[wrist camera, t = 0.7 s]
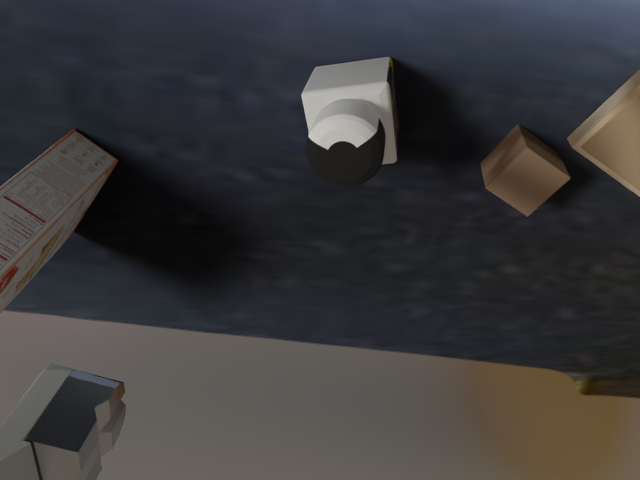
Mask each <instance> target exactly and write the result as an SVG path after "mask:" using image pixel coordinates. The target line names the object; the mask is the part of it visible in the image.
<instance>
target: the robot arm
mask: <svg viewBox="0 0 640 480" xmlns="http://www.w3.org/2000/svg"><path fill="white" fill-rule="evenodd" d="M124 393H125V387H124V382H120V381H116V380H112V379H109V378H105V377H101V376H97V375H93V374H89V373H85V372H81V371H78V370H75V369H71V368H68V367H63V366H59V365H55V364H50V365H49V366H47V367H46V368H45V369H44V370H42V372H41V373H40V374H39V376H38V377H37V378H36V380H35V381H34V383H33V384H32V385H31V387H30V388H29V389H28V391H27V392H26V393H25V394H24V396H23V397H22V398H21V400H20V402H19V403H18V404H17V405H16V407H15V408H14V409H13V411H12V412H11V413H10V415H9V416H8V417H7V419H6V420H5V421H4V423H3V424H2V425H1V427H0V480H96V479H97V477H98V475H99V474H100V472H101V469H102V467H101V456H102V455H104V454H105V453H107V452H108V451H110V450H111V449H113V447H114V445H115V443H116V440H117V438H118V437H119V434H120V431H121V428H122V426H123V423H124V419H125V413H126V405H125V404H124V403H123V401H122V400H121V399H122V397H123V395H124Z"/></svg>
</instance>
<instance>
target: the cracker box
mask: <svg viewBox="0 0 640 480" xmlns="http://www.w3.org/2000/svg"><path fill="white" fill-rule="evenodd" d="M117 162H118V159H116V158H115V157H113V156H112V155H111V154H109V153H108V152H106V151H105V150H103V149H102V148H101V147H99V146H98V145H96V144H95V143H93V142H92V141H91V140H89V139H88V138H86V137H85V136H83V135H82V134H81V133H79V132H78V131H76V130H75V129H73V130H72V131H70V132H69V133H68V134H67V135H65V136H64V137H63V138H62V139H60V140H59V141H58V142H56V143H55V144H54V145H53V146H51V147H50V148H49V149H48V150H46V151H45V152H44V153H43V154H41V155H40V156H39V157H38V158H36V159H35V160H34V161H33V162H31V163H30V164H29V165H27V166H26V167H25V168H24V169H22V170H21V171H20V172H18V173H17V174H16V175H15V176H13V177H12V178H11V179H10V180H8V181H7V182H6V183H4V184H3V185H2V186H1V187H0V313H1V312H2V311H3V310H4V309H5V308H6V306H7V305H8V304H9V303H10V302H11V301H12V300H13V299H14V298H15V297H16V296H17V294H18V293H19V292H20V291H21V290H22V289H23V288H24V287H25V286H26V284H27V283H28V282H29V281H30V280H31V279H32V278H33V277H34V276H35V275H36V273H37V272H38V271H39V270H40V269H41V268H42V267H43V266H44V265H45V263H46V262H47V261H48V260H49V259H50V258H51V257H52V256H53V255H54V254H55V253H56V251H57V250H58V249H59V248H60V247H61V246H62V245H63V244H64V243H65V242H66V240H67V239H68V238H69V237H70V236H71V235H72V234H73V232H74V230H75V229H76V227H77V225H78V224H79V222H80V221H81V219H82V218H83V216H84V215H85V213H86V211H87V210H88V208H89V207H90V205H91V203H92V202H93V200H94V199H95V197H96V196H97V194H98V192H99V191H100V189H101V188H102V186H103V185H104V183H105V181H106V180H107V178H108V177H109V175H110V174H111V172H112V170H113V169H114V167H115V166H116V164H117Z"/></svg>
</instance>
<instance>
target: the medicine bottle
mask: <svg viewBox="0 0 640 480" xmlns="http://www.w3.org/2000/svg"><path fill="white" fill-rule="evenodd" d="M302 101H303V106H304V111H305V116H306V121H307V126H308V130H309V135H308V138H307V141H306V156H307V160H308V162H309V164H310V166H311V168H312V169H313V171H314V172H315V173H316V174H317V175H318V176H319V177H320V178H322V179H323V180H325V181H327V182H329V183H331V184H334V185H338V186H355V185H359V184H362V183H364V182H366V181H368V180H369V179H371V178H372V177H373V176H374V175H375V174H376V173H377V172H378V170H379V169H380V167H381V165H382V164H391V163H395V162H396V161H397V149H398V133H399V125H398V115H397V105H396V94H395V84H394V74H393V64H392V59H391V58H390V57H383V58H376V59H369V60H362V61H354V62H347V63H340V64H333V65H326V66H319V67H315V69H314V70H313V72H312V74H311V76H310V78H309V80H308V82H307V84H306V86H305V88H304V90H303V92H302Z"/></svg>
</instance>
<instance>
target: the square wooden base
mask: <svg viewBox="0 0 640 480" xmlns="http://www.w3.org/2000/svg"><path fill="white" fill-rule="evenodd" d="M567 139H568V141H569V143H570V145H571V147H572V148H573V149H575V150H576V151H577V152H579V153H580V154H582V155H583V156H584V157H586V158H587V159H588V160H590V161H591V162H593V163H594V164H595V165H597V166H598V167H599V168H601V169H602V170H604V171H605V172H606V173H608V174H609V175H610V176H612V177H613V178H615V179H616V180H617V181H619V182H620V183H621V184H623V185H624V186H626V187H627V188H628V189H630V190H631V191H633V192H634V193H635V194H637V195H638V196H639V197H640V69H639V70H638V71H637V72H636V73H635V74H634V75H633V76H632V77H631V78H630V79H629V80H627V81H626V82H625V83H624V84H623V85H622V86H621V87H620V88H619V89H618V90H617V91H616V92H615V93H614V94H613V95H612V96H611V97H610V98H609V99H608V100H606V101H605V102H604V103H603V104H602V105H601V106H600V107H599V108H598V109H597V110H596V111H595V112H594V113H593V114H592V115H591V116H590V117H589V118H588V119H586V120H585V121H584V122H583V123H582V124H581V125H580V126H579V127H578V128H577V129H576V130H575V131H574V132H573V133H572V134H571V135H570V136H569V137H568V138H567Z"/></svg>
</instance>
